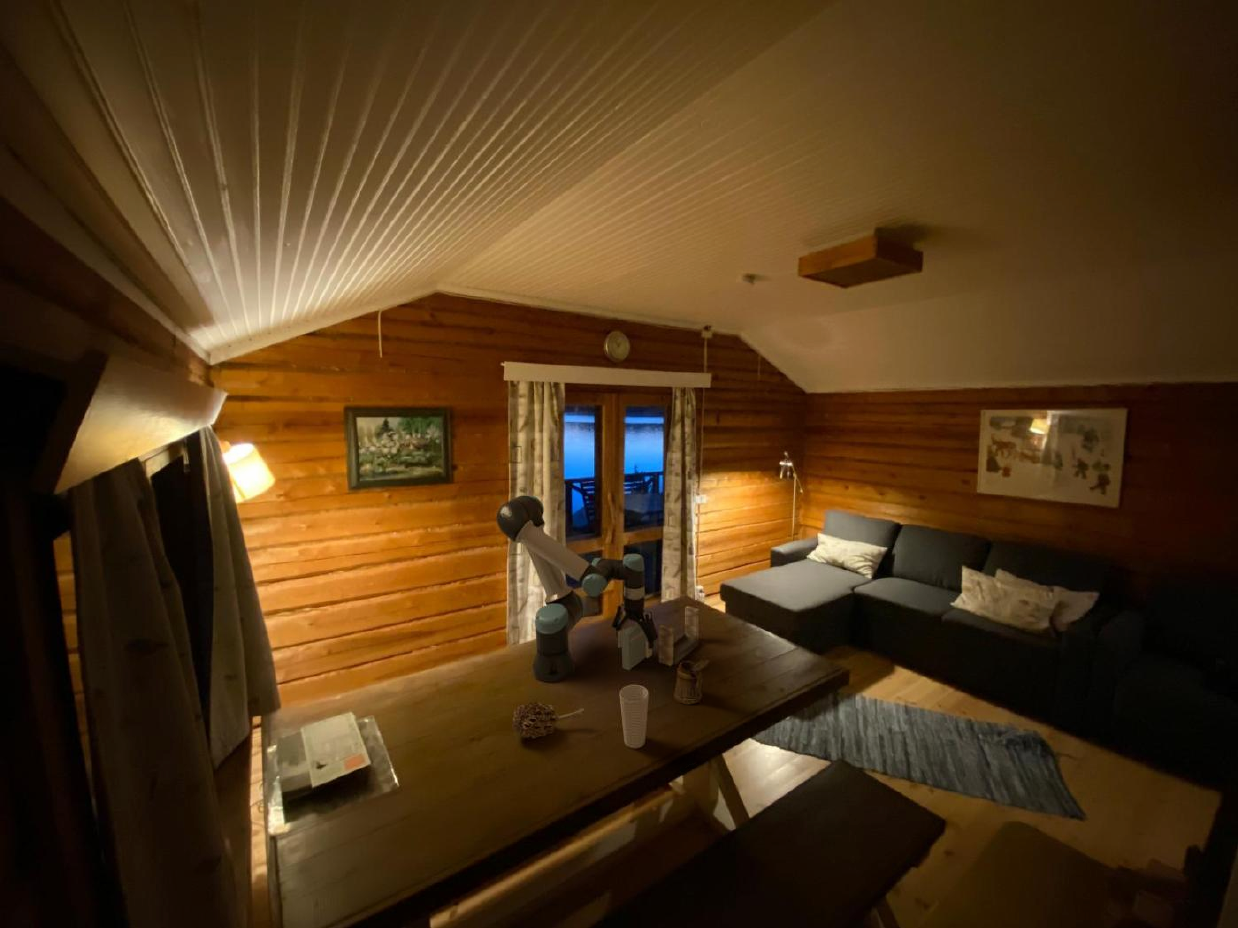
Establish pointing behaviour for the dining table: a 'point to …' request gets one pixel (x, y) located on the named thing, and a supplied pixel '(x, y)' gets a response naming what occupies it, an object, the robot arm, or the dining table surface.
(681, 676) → the wooden mug
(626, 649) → the door panel
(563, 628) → the robot arm
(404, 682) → the dining table surface
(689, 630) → the u-shaped holder
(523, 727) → the dried seed pod
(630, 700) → the cup
